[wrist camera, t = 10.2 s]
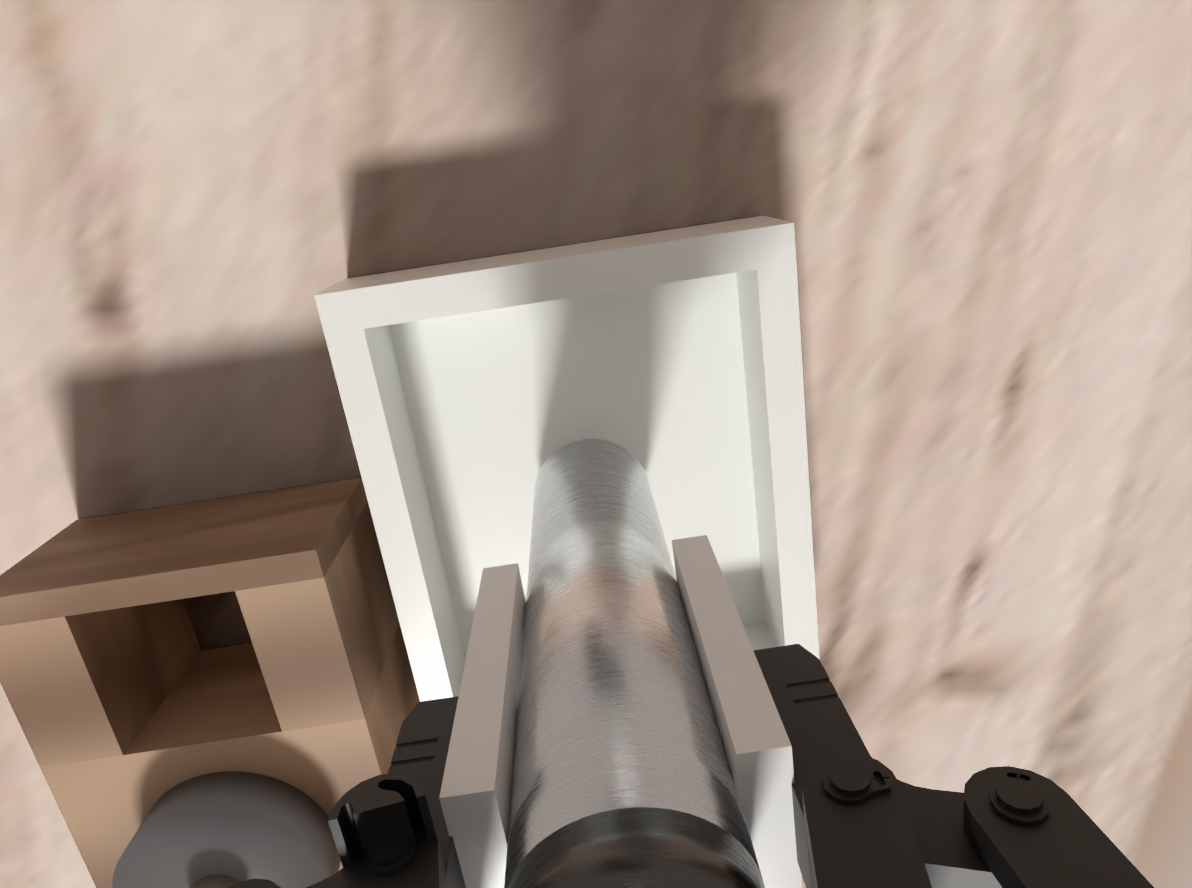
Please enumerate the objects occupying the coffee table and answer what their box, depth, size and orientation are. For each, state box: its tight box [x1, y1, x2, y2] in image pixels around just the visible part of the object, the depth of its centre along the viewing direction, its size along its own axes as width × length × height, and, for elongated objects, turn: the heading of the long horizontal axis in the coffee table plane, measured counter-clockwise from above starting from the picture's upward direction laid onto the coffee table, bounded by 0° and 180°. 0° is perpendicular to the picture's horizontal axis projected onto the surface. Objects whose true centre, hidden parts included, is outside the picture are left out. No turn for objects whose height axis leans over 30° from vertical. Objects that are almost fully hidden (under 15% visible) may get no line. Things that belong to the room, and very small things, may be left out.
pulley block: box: [0, 477, 420, 888], centre depth 23 cm, size 12×9×8 cm
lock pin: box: [504, 439, 765, 888], centre depth 16 cm, size 3×3×15 cm
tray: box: [314, 216, 819, 702], centre depth 23 cm, size 14×12×3 cm
